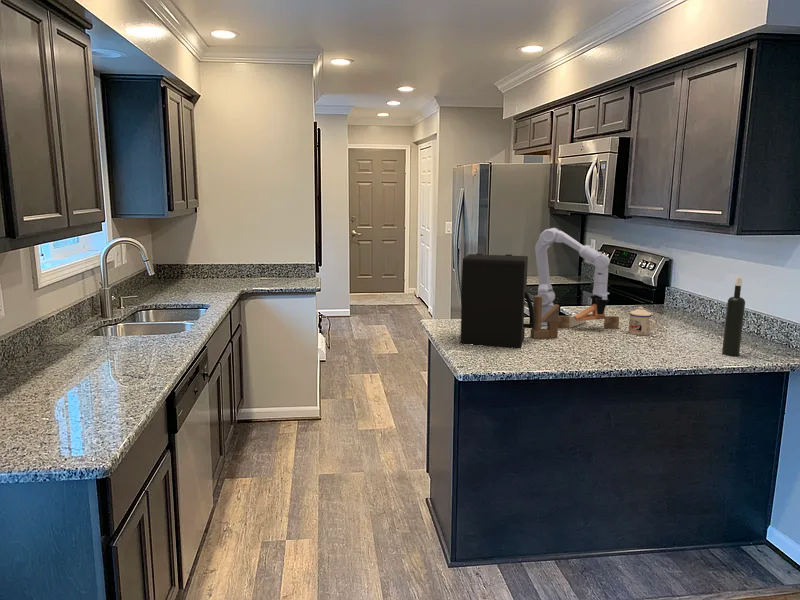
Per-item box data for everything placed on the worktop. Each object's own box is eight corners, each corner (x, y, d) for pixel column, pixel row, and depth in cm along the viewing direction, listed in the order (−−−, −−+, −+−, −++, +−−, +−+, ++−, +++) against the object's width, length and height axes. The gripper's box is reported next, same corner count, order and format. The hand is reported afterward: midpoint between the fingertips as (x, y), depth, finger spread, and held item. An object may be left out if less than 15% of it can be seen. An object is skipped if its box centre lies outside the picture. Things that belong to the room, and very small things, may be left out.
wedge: (577, 321, 264) (576, 307, 263) (574, 318, 268) (574, 305, 267) (604, 318, 263) (604, 305, 262) (601, 316, 268) (601, 303, 267)
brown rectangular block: (555, 328, 269) (556, 316, 268) (554, 327, 271) (555, 315, 270) (618, 328, 269) (619, 316, 268) (617, 328, 270) (618, 316, 269)
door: (571, 327, 269) (572, 316, 268) (569, 327, 270) (569, 316, 269) (585, 322, 280) (586, 311, 280) (583, 321, 281) (583, 311, 280)
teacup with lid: (623, 332, 262) (625, 306, 260) (637, 330, 267) (639, 304, 265) (646, 338, 252) (648, 311, 250) (660, 335, 257) (663, 309, 254)
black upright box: (534, 337, 252) (538, 255, 246) (531, 349, 234) (535, 260, 227) (468, 333, 260) (470, 252, 253) (460, 344, 241) (462, 258, 235)
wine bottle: (719, 354, 229) (728, 276, 223) (724, 351, 233) (733, 274, 227) (736, 357, 225) (745, 278, 219) (741, 354, 229) (750, 276, 223)
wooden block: (557, 338, 251) (560, 296, 248) (533, 339, 250) (535, 296, 246) (554, 336, 255) (556, 294, 252) (530, 337, 253) (531, 295, 250)
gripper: (615, 285, 255) (613, 316, 258) (604, 280, 270) (602, 309, 272) (598, 285, 256) (596, 316, 258) (588, 280, 270) (587, 309, 272)
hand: (598, 313), depth 265 cm, fingers closed on wedge, 4 cm apart
